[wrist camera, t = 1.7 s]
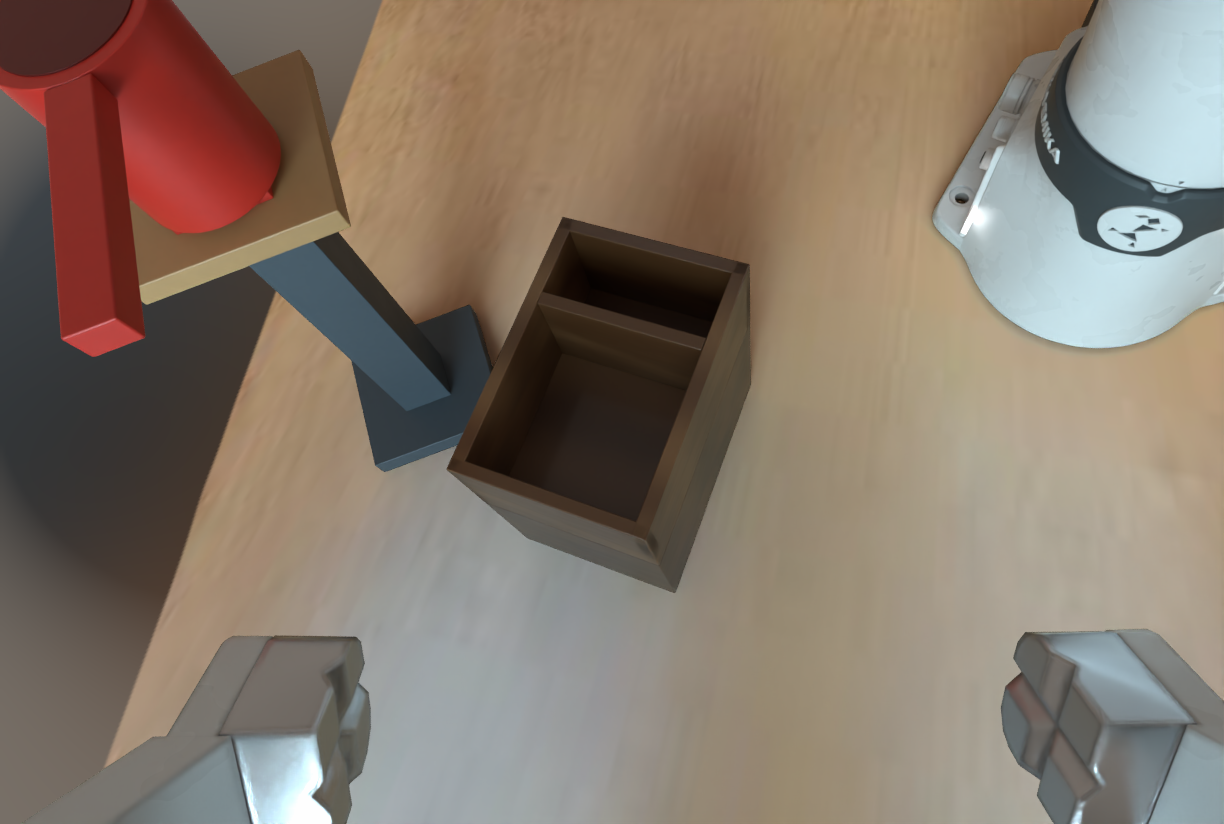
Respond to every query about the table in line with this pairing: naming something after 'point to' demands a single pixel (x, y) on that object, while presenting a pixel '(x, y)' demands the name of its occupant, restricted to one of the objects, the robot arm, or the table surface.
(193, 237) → the stand
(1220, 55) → the robot arm
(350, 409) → the table surface
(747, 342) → the caddy
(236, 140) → the cup
